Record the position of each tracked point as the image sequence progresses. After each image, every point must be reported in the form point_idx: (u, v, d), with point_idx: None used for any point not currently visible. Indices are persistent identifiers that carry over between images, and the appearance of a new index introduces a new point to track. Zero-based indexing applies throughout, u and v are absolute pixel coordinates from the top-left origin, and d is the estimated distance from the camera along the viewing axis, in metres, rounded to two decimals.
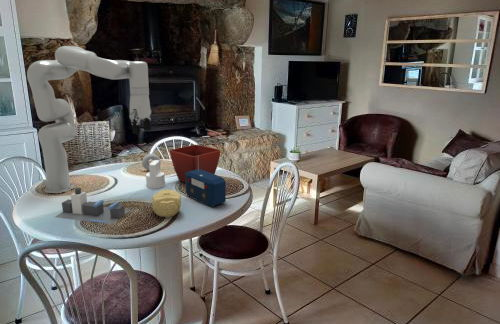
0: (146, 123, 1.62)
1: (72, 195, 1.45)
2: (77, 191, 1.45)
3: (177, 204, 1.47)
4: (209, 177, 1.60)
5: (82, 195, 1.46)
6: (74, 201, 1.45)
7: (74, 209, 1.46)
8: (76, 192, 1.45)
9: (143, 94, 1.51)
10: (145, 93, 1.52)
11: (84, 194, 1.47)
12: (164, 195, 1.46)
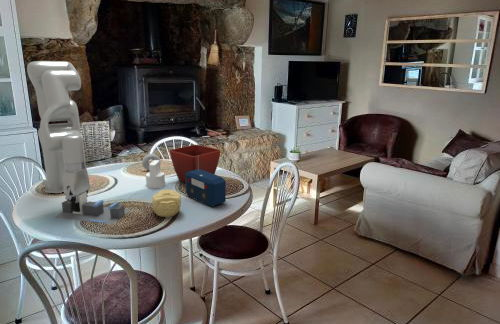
0: None
1: None
2: None
3: (177, 204, 1.47)
4: (209, 177, 1.60)
5: (82, 195, 1.46)
6: None
7: None
8: None
9: (77, 170, 1.40)
10: (80, 168, 1.41)
11: (84, 194, 1.47)
12: (164, 195, 1.46)
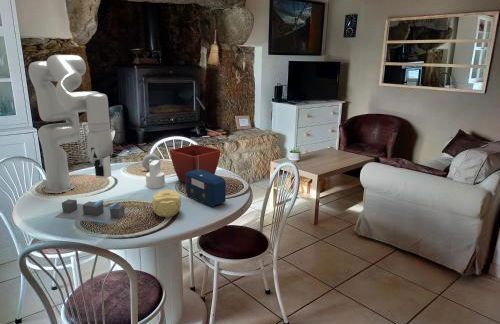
0: None
1: None
2: None
3: (177, 204, 1.47)
4: (209, 177, 1.60)
5: (106, 158, 1.39)
6: None
7: None
8: None
9: (102, 131, 1.34)
10: (105, 129, 1.34)
11: (108, 158, 1.40)
12: (164, 195, 1.46)
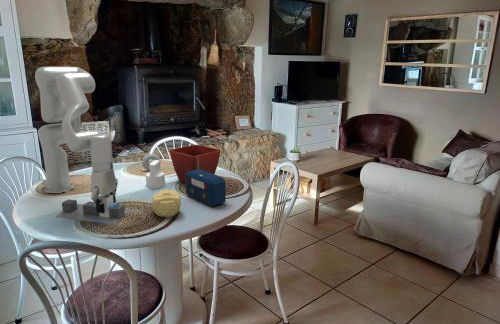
0: None
1: (99, 198, 1.42)
2: None
3: (177, 204, 1.47)
4: (209, 177, 1.60)
5: (109, 198, 1.43)
6: None
7: None
8: None
9: (105, 170, 1.38)
10: (108, 168, 1.38)
11: (111, 197, 1.45)
12: (164, 195, 1.46)
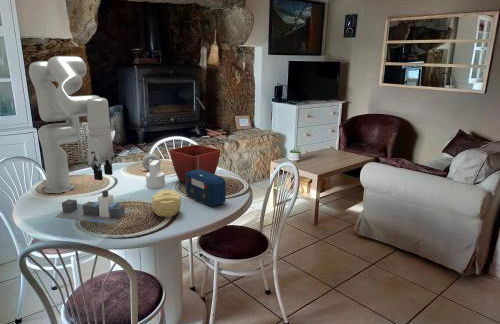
0: (107, 167, 1.43)
1: (99, 198, 1.42)
2: (105, 194, 1.43)
3: (177, 204, 1.47)
4: (209, 177, 1.60)
5: (109, 198, 1.43)
6: (101, 204, 1.43)
7: (101, 212, 1.44)
8: (103, 195, 1.43)
9: (102, 135, 1.34)
10: (105, 133, 1.35)
11: (111, 197, 1.45)
12: (164, 195, 1.46)
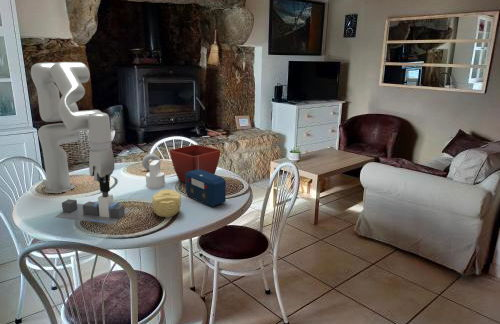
0: None
1: (99, 198, 1.42)
2: (105, 194, 1.43)
3: (177, 204, 1.47)
4: (209, 177, 1.60)
5: (109, 198, 1.43)
6: (101, 204, 1.43)
7: (101, 212, 1.44)
8: (103, 195, 1.43)
9: (103, 150, 1.35)
10: (106, 148, 1.36)
11: (111, 197, 1.45)
12: (164, 195, 1.46)
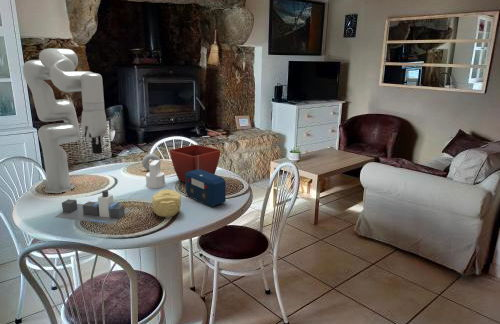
0: None
1: (99, 198, 1.42)
2: (105, 194, 1.43)
3: (177, 204, 1.47)
4: (209, 177, 1.60)
5: (109, 198, 1.43)
6: (101, 204, 1.43)
7: (101, 212, 1.44)
8: (103, 195, 1.43)
9: (96, 110, 1.36)
10: (99, 109, 1.37)
11: (111, 197, 1.45)
12: (164, 195, 1.46)
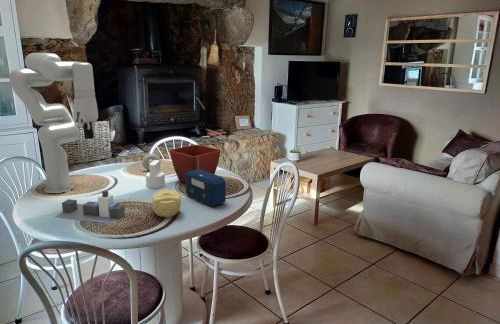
0: None
1: (99, 198, 1.42)
2: (105, 194, 1.43)
3: (177, 204, 1.47)
4: (209, 177, 1.60)
5: (109, 198, 1.43)
6: (101, 204, 1.43)
7: (101, 212, 1.44)
8: (103, 195, 1.43)
9: (87, 97, 1.46)
10: (90, 95, 1.46)
11: (111, 197, 1.45)
12: (164, 195, 1.46)
